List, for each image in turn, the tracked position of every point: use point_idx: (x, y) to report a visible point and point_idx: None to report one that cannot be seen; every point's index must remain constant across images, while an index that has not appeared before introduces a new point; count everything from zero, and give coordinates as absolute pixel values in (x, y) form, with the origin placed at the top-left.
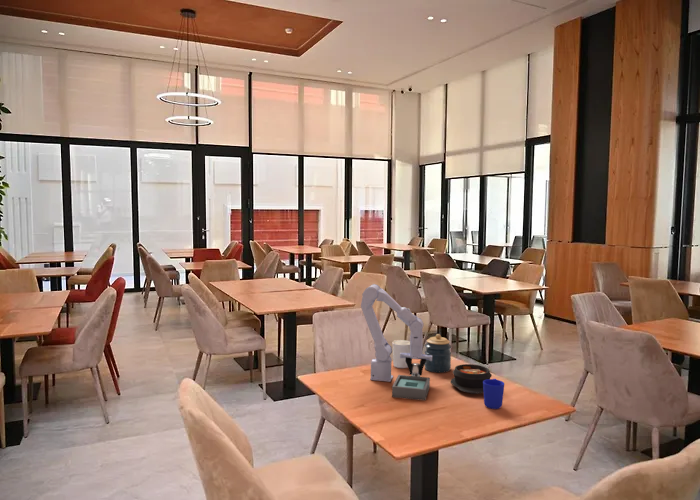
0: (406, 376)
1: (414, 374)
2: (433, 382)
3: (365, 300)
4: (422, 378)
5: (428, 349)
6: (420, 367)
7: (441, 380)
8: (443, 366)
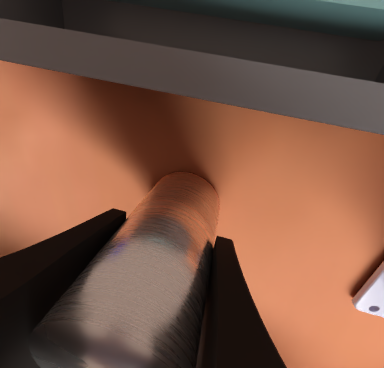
0: (324, 73)
1: (176, 213)
2: (64, 190)
3: None
4: (49, 28)
5: None
6: (31, 272)
7: (31, 224)
8: None
